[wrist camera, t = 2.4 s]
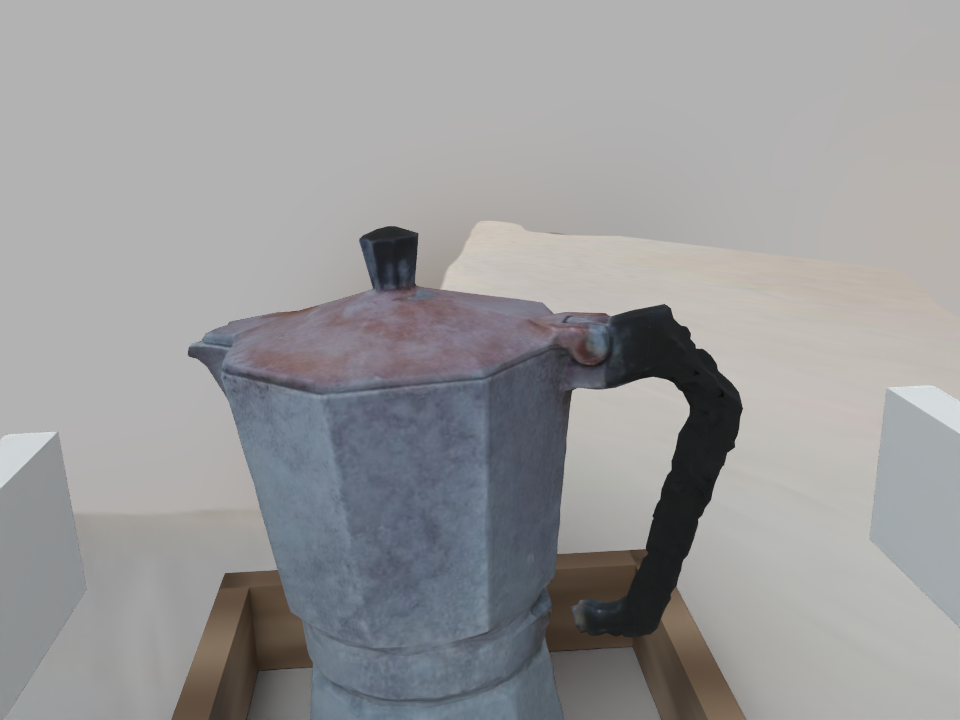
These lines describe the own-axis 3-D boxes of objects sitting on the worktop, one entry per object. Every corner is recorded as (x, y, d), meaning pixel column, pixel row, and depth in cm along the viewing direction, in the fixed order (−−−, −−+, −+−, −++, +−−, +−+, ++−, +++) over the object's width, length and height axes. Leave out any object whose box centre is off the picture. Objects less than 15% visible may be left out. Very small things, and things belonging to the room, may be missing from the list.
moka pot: (295, 712, 35) (244, 200, 29) (698, 763, 32) (737, 204, 26) (169, 931, 26) (57, 258, 20) (710, 1029, 23) (775, 274, 17)
